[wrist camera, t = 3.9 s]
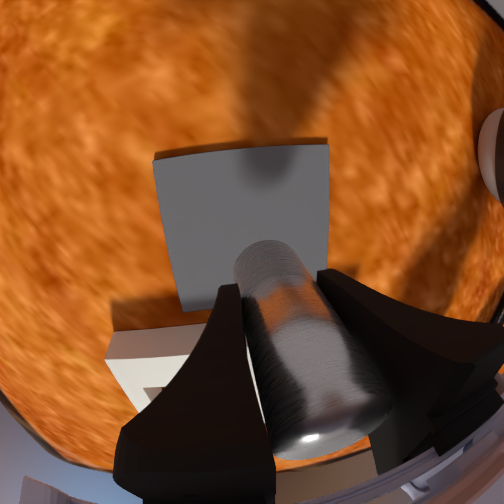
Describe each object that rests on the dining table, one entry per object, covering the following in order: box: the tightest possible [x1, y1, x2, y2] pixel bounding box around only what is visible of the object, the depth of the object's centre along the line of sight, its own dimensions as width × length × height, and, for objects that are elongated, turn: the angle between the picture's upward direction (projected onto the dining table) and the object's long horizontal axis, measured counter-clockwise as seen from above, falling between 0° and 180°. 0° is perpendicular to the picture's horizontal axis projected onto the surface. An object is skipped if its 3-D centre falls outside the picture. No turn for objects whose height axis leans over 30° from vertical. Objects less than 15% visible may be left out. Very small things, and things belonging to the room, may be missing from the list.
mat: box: [152, 144, 330, 312], centre depth 16 cm, size 10×10×1 cm
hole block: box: [105, 323, 265, 423], centre depth 20 cm, size 18×11×3 cm, turn 94°
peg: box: [233, 240, 393, 460], centre depth 9 cm, size 3×3×8 cm
